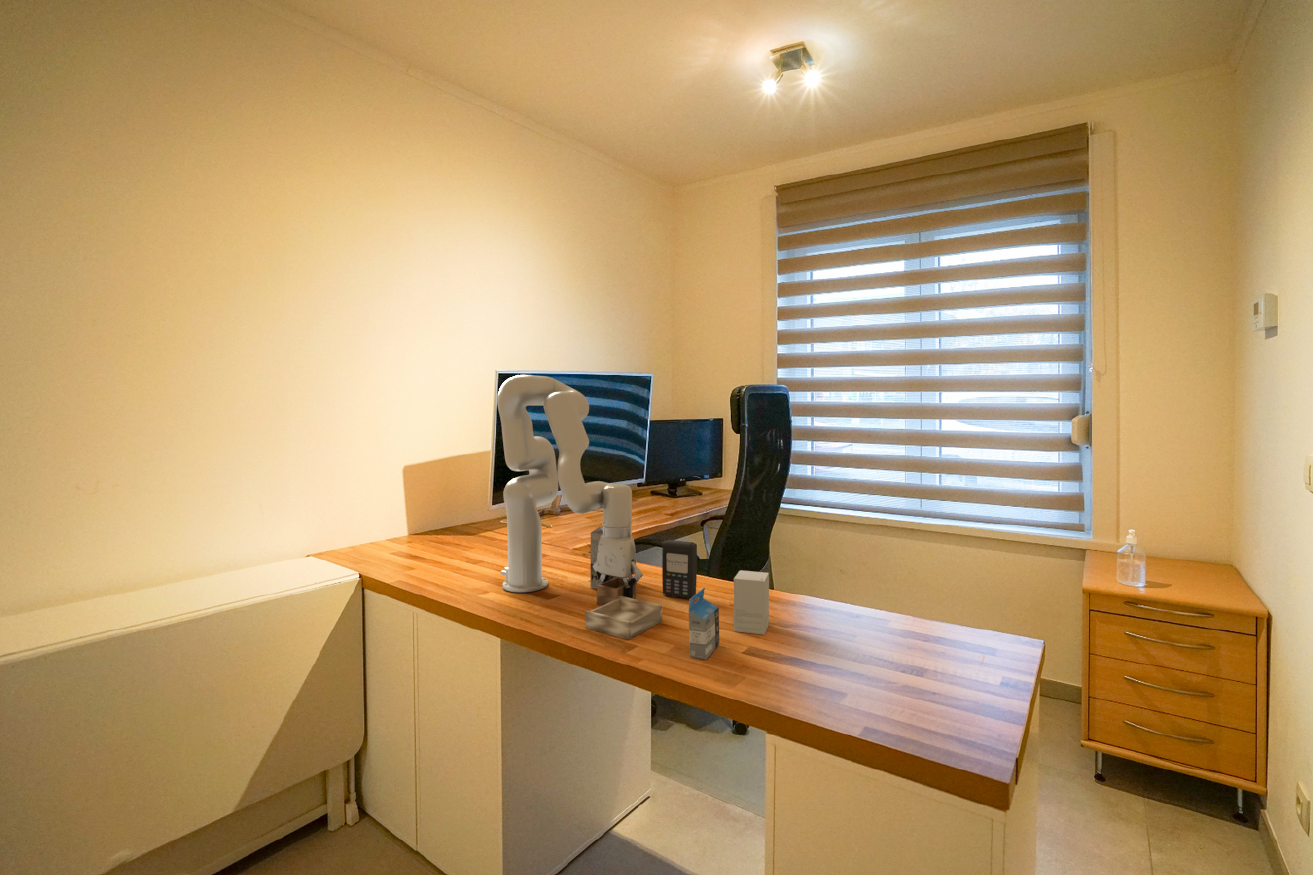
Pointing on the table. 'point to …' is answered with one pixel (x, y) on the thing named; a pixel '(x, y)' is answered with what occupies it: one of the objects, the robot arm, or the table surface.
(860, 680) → the table surface
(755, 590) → the supplement box
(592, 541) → the coffee box
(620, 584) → the small crate
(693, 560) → the card reader
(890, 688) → the table surface
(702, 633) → the label tape box
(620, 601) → the tray
